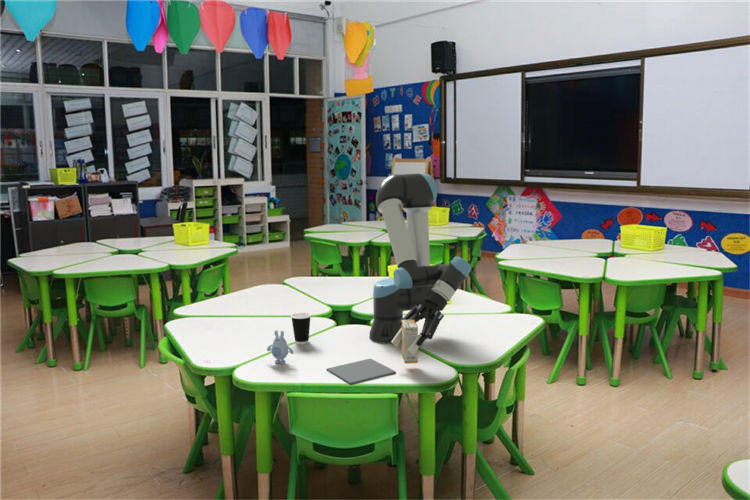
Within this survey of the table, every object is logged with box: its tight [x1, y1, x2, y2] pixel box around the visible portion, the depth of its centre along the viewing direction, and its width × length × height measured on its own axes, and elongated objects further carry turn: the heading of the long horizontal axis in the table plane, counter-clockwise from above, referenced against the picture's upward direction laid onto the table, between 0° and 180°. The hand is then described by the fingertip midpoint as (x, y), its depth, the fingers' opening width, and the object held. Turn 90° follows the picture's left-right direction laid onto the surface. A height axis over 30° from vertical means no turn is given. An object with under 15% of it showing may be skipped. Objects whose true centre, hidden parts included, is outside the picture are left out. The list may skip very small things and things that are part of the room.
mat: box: [326, 358, 397, 385], centre depth 222 cm, size 18×16×1 cm
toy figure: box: [266, 329, 294, 365], centre depth 231 cm, size 11×6×12 cm, turn 70°
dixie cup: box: [290, 312, 312, 345], centre depth 254 cm, size 8×8×11 cm
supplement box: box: [401, 320, 419, 364], centre depth 222 cm, size 8×5×13 cm, turn 5°
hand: (402, 348), depth 221 cm, fingers closed on supplement box, 9 cm apart
